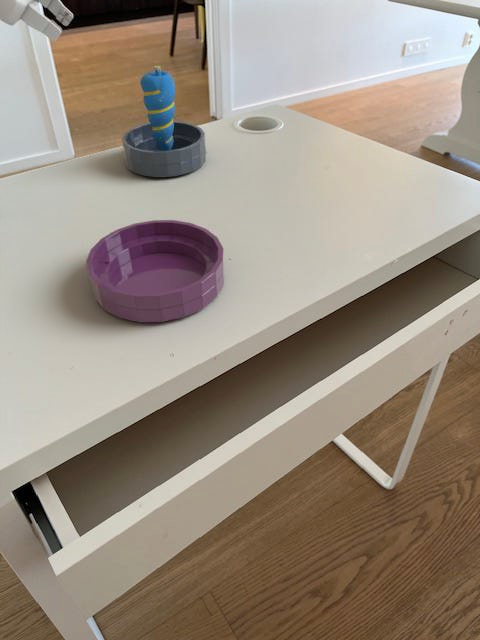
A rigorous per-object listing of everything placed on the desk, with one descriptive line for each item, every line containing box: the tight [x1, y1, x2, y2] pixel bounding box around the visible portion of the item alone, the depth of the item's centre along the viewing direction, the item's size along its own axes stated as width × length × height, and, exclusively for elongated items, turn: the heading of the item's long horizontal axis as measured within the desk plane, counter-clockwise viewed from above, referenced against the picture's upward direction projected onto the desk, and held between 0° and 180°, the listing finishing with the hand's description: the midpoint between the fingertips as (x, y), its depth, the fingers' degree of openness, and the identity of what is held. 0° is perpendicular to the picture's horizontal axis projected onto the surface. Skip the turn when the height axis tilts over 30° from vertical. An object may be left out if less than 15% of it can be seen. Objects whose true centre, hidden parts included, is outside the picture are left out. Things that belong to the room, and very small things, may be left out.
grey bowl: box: [121, 120, 207, 178], centre depth 84 cm, size 13×13×4 cm
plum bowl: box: [85, 219, 225, 323], centre depth 59 cm, size 15×15×4 cm
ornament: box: [140, 60, 176, 151], centre depth 80 cm, size 5×5×15 cm
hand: (65, 28), depth 72 cm, fingers open, 8 cm apart
